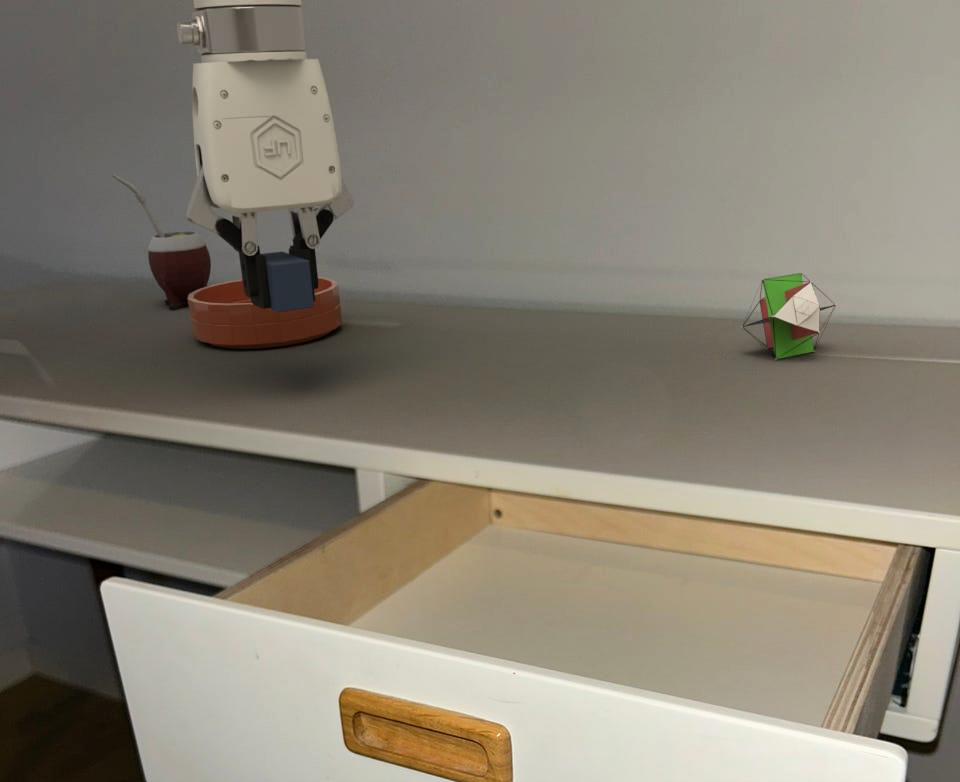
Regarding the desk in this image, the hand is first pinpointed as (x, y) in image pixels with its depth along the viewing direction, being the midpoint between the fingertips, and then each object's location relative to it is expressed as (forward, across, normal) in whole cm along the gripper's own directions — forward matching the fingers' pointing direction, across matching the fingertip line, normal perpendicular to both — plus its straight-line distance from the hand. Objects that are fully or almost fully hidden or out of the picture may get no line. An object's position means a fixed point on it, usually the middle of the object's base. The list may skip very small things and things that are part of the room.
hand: (283, 300), depth 85 cm
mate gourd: (+9, +4, +49) cm, 50 cm away
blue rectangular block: (0, 0, 0) cm, 0 cm away
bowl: (+8, +7, +26) cm, 28 cm away
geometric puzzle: (+7, +40, -15) cm, 43 cm away
